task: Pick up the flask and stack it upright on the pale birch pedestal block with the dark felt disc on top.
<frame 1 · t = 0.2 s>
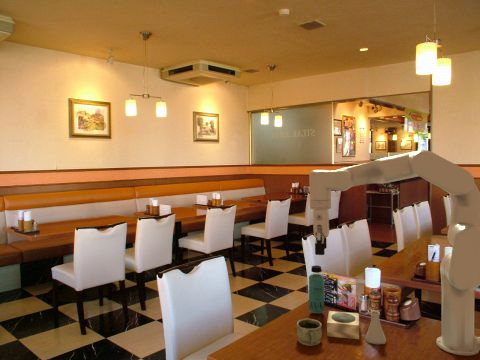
hand: (321, 251, 143), 31 cm above the table, tool pointing down, fingers open, 9 cm apart
flask: (375, 340, 138), on the table
pedestal: (343, 331, 146), on the table
vessel: (309, 341, 140), on the table
beverage bottle: (316, 314, 163), on the table
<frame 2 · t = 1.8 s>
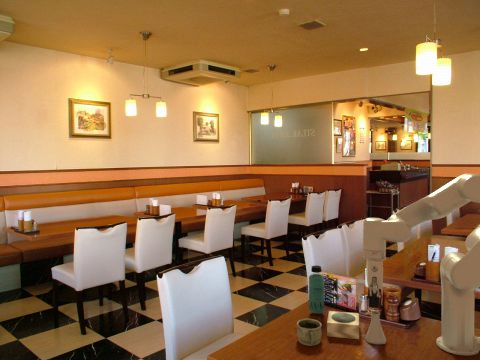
hand: (373, 302, 138), 14 cm above the table, tool pointing down, fingers open, 9 cm apart
nothing on the table moved.
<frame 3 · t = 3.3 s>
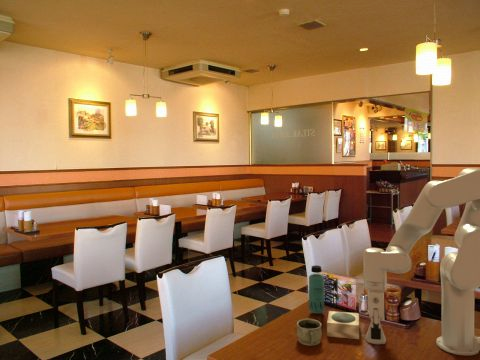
hand: (375, 334, 138), 2 cm above the table, tool pointing down, fingers closed on flask, 4 cm apart
flask: (375, 340, 138), on the table, touching gripper
everything else where it was.
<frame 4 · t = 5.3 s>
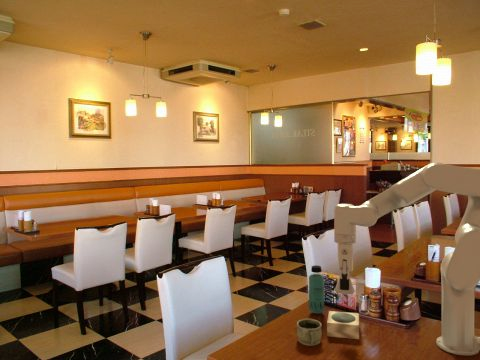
hand: (344, 286, 145), 17 cm above the table, tool pointing down, fingers closed on flask, 4 cm apart
flask: (344, 292, 145), point 15 cm above the table, touching gripper
everything else where it was.
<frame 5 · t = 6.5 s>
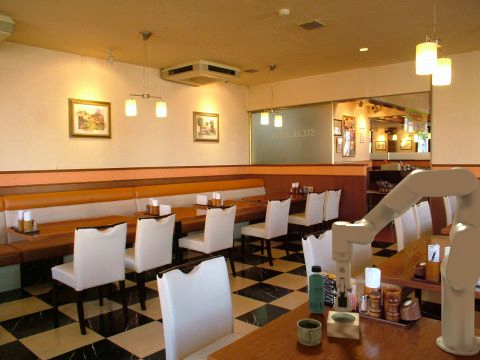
hand: (342, 303, 146), 10 cm above the table, tool pointing down, fingers closed on flask, 4 cm apart
flask: (342, 309, 146), point 8 cm above the table, touching gripper
everything else where it was.
when the fingers open (8 cm above the table, at t = 7.3 s): flask stays where it is, resting on pedestal.
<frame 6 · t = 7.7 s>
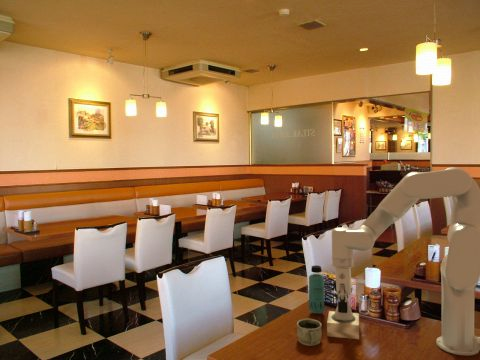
hand: (343, 307, 146), 9 cm above the table, tool pointing down, fingers open, 9 cm apart
flask: (343, 317, 146), point 5 cm above the table, touching pedestal
everything else where it was.
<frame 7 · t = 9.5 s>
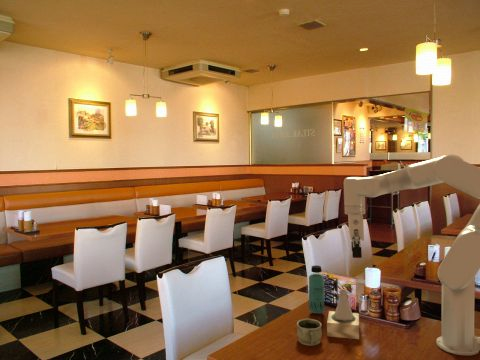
hand: (356, 254, 150), 27 cm above the table, tool pointing down, fingers open, 9 cm apart
nothing on the table moved.
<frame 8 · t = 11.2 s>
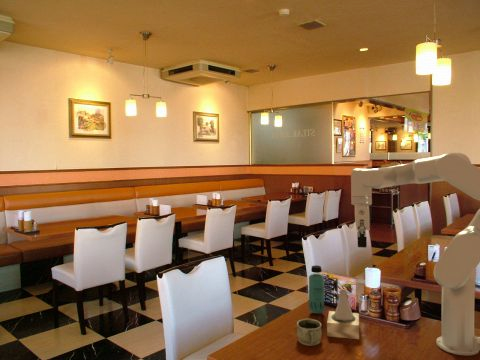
hand: (361, 244, 153), 30 cm above the table, tool pointing down, fingers open, 9 cm apart
nothing on the table moved.
at the end: flask inside the target area on the pedestal (0.1 cm from its centre), point 5.0 cm above the pedestal's base; flask tilted 0°; the gripper is holding nothing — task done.
